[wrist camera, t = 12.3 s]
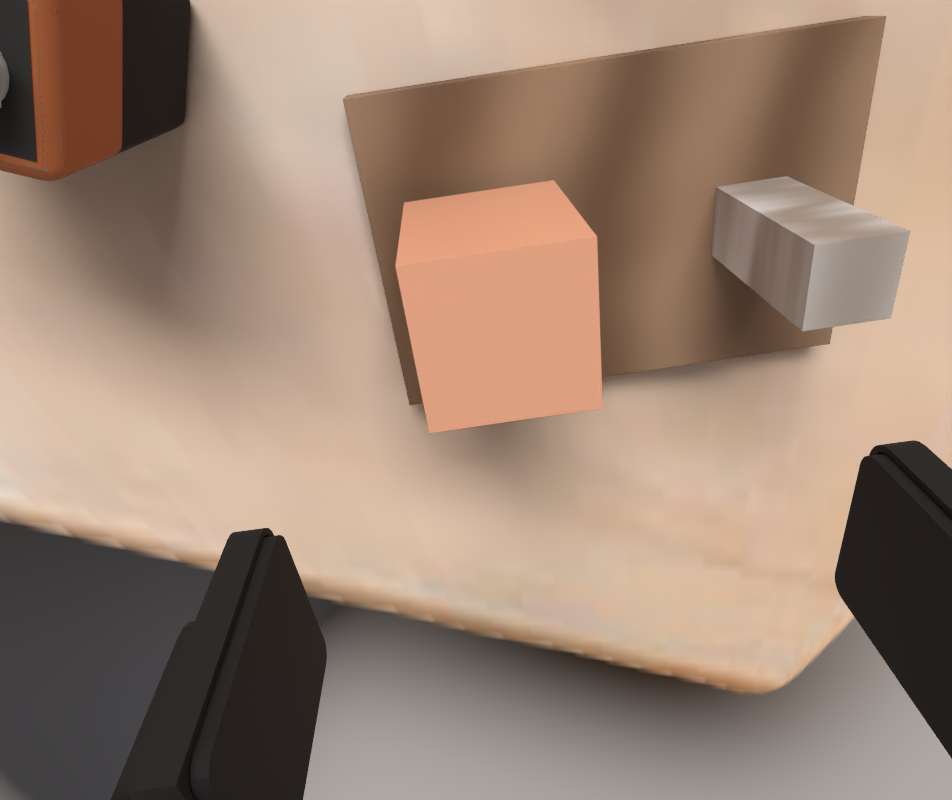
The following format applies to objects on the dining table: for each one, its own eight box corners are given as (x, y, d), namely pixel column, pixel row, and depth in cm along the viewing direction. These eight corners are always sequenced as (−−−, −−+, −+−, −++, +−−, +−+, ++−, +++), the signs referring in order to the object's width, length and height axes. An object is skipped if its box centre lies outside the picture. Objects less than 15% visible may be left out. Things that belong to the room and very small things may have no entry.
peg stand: (864, 16, 22) (1069, 15, 15) (815, 331, 28) (943, 436, 21) (347, 95, 22) (308, 131, 15) (410, 391, 28) (404, 514, 21)
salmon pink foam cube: (553, 179, 22) (596, 236, 16) (563, 318, 25) (602, 408, 19) (403, 202, 22) (395, 266, 16) (429, 338, 25) (429, 433, 19)
